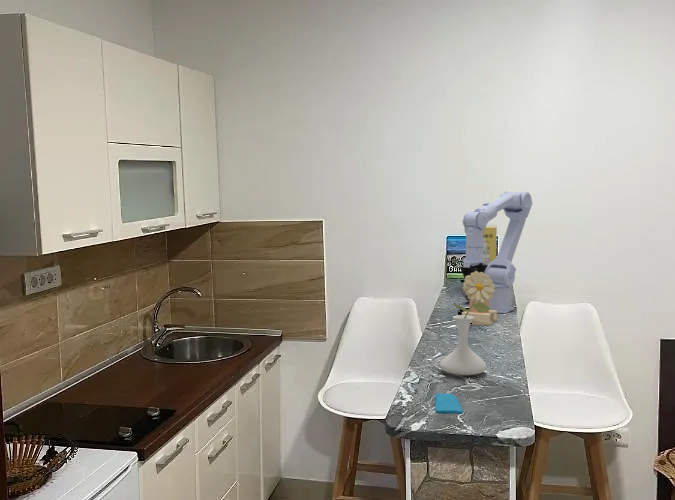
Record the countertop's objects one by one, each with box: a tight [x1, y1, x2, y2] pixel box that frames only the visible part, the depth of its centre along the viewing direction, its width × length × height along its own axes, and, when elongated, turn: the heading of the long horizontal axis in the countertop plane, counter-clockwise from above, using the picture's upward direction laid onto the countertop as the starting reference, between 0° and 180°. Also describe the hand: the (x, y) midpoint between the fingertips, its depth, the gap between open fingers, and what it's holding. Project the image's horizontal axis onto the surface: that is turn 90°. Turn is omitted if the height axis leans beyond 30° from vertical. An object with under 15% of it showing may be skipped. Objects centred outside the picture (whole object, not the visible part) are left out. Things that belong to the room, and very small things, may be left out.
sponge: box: [434, 392, 465, 415], centre depth 149 cm, size 2×12×6 cm
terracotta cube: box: [468, 299, 489, 313], centre depth 234 cm, size 5×5×5 cm
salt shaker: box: [463, 292, 470, 306], centre depth 268 cm, size 6×6×12 cm
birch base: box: [461, 309, 498, 327], centre depth 234 cm, size 9×9×4 cm
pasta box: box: [483, 224, 498, 267], centre depth 289 cm, size 18×10×28 cm, turn 167°
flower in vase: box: [438, 271, 495, 376], centre depth 171 cm, size 13×11×25 cm
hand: (473, 286), depth 242 cm, fingers open, 7 cm apart
